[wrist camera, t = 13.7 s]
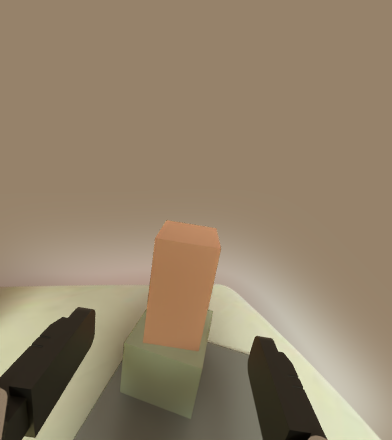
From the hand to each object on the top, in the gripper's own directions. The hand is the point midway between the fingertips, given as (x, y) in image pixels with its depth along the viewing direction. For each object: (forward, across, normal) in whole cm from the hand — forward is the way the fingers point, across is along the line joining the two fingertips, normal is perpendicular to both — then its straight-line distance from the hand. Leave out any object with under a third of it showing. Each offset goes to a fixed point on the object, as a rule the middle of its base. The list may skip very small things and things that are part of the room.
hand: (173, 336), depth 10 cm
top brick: (+8, 0, +7) cm, 11 cm away
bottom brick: (+8, 0, +14) cm, 16 cm away
